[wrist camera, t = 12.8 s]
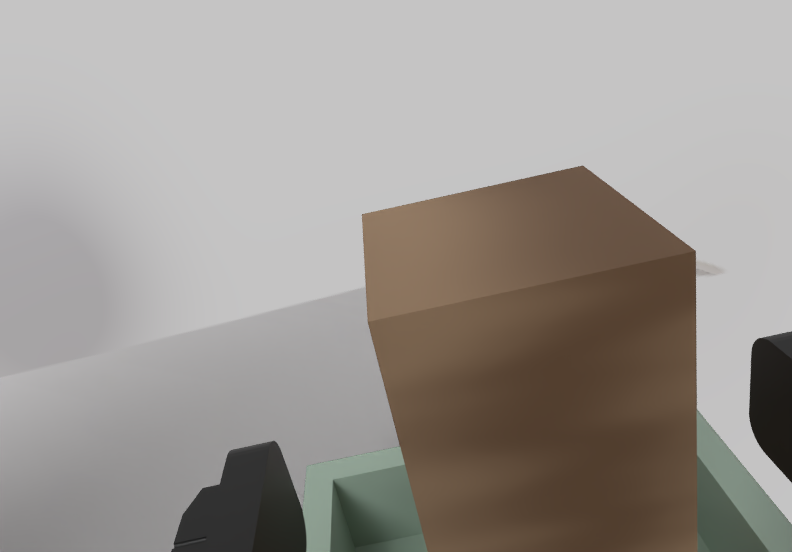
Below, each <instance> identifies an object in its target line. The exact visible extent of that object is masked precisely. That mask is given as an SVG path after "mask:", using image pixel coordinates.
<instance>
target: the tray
mask: <svg viewBox="0 0 792 552" xmlns="http://www.w3.org/2000/svg"><path fill="white" fill-rule="evenodd" d="M303 516H304V521H305V527H306V538H307V549H306V552H428V551H427V548H426V544H425V540H424V536H423V532H422V528H421V524H420V521H419V517H418V513H417V509H416V505H415V501H414V498H413V494H412V490H411V486H410V482H409V478H408V474H407V471H406V467H405V463H404V459H403V455H402V451H401V448H400V446H399V447H394V448H389V449H385V450H380V451H375V452H370V453H366V454H361V455H356V456H351V457H347V458H342V459H337V460H332V461H328V462H323V463H318V464H313V465H309V466H307V469H306V480H305V491H304V501H303ZM697 542H698V552H792V524H791V523H790V522H789V521H788V519H787V518H786V517H785V516H784V515H783V513H782V512H781V511H780V510H779V509H778V507H777V506H776V505H775V504H774V502H773V501H772V500H771V499H770V498H769V496H768V495H767V494H766V493H765V491H764V490H763V489H762V488H761V487H760V485H759V484H758V483H757V482H756V481H755V479H754V478H753V477H752V476H751V474H750V473H749V472H748V471H747V470H746V468H745V467H744V466H743V465H742V464H741V463H740V461H739V460H738V459H737V457H736V456H735V455H734V454H733V453H732V451H731V450H730V449H729V448H728V447H727V445H726V444H725V443H724V442H723V440H722V439H721V438H720V437H719V436H718V434H717V433H716V432H715V431H714V430H713V429H712V427H711V426H710V425H709V423H708V422H707V421H706V420H705V419H704V418H703V416H702V415H701V414H700V413H699V411H698V410H697Z"/></svg>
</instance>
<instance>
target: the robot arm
mask: <svg viewBox="0 0 792 552" xmlns="http://www.w3.org/2000/svg"><path fill="white" fill-rule="evenodd" d="M750 382H751V383H750V408H749V417H750V423H751V427H752V430H753V433H754V436H755V438H756V440H757V442H758V443H759V445H760V447H761V448H762V450H763V451H764V452H765V453H766V455H767V456H768V457H769V458H770V459H771V460H772V461H773V462H774V464H775V465H776V466H777V467H778V468H779V469H780V470H781V471H782V472H783V474H785V476H786V477H787V478H788V479H789V480H790V481H791V482H792V332H787V333H782V334H778V335H773V336H769V337H764V338H759V339H757V340H756V341H755V342H754V344H753V347H752V355H751V380H750ZM306 549H307V538H306V527H305V521H304V516H303V512H302V508H301V505H300V502H299V500H298V497H297V494H296V491H295V488H294V486H293V483H292V480H291V477H290V475H289V472H288V469H287V466H286V464H285V461H284V458H283V455H282V452H281V450H280V448H279V446H278V444H277V443H276V442H275V441H272V442H267V443H262V444H258V445H253V446H248V447H244V448H239V449H234V450H231V451H230V452H229V453H228V455H227V459H226V462H225V466H224V470H223V474H222V478H221V482H220V485H216V486H211V487H206V488H202V490H201V491H200V492H199V494H198V495H197V496H196V498H195V499H194V501H193V502H192V503H191V505H190V506H189V507H188V509H187V510H186V511H185V513H184V514H183V516H182V519H181V522H180V525H179V528H178V532H177V535H176V538H175V541H174V549H172V551H171V552H306Z"/></svg>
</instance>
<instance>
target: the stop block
mask: <svg viewBox="0 0 792 552" xmlns="http://www.w3.org/2000/svg"><path fill="white" fill-rule="evenodd" d="M362 222H363V242H364V259H365V279H366V297H367V316H368V325H369V328H370V332H371V336H372V340H373V344H374V348H375V351H376V355H377V359H378V363H379V367H380V371H381V375H382V378H383V382H384V386H385V390H386V394H387V398H388V401H389V405H390V409H391V413H392V417H393V421H394V425H395V428H396V432H397V436H398V440H399V444H400V448H401V451H402V455H403V459H404V463H405V467H406V471H407V474H408V478H409V482H410V486H411V490H412V494H413V498H414V501H415V505H416V509H417V513H418V517H419V521H420V524H421V528H422V532H423V536H424V540H425V544H426V548H427V551H428V552H698V542H697V392H696V391H697V387H696V386H697V385H696V251H695V250H694V249H692V248H691V247H690V246H688V245H687V244H685V243H684V242H683V241H682V240H680V239H679V238H678V237H676V236H675V235H674V234H673V233H671V232H670V231H669V230H667V229H666V228H665V227H663V226H662V225H661V224H659V223H658V222H657V221H655V220H654V219H653V218H651V217H650V216H649V215H647V214H646V213H644V211H642V210H641V209H639V208H638V207H637V206H635V205H634V204H633V203H632V202H630V201H629V200H628V199H626V198H625V197H624V196H622V195H621V194H620V193H618V192H617V191H616V190H614V189H613V188H612V187H611V186H609V185H608V184H607V183H605V182H604V181H602V180H601V179H600V178H599V177H597V176H596V175H595V174H593V173H592V172H591V171H589V170H588V169H587V168H585V167H584V166H580V167H575V168H570V169H565V170H561V171H556V172H552V173H547V174H543V175H538V176H534V177H530V178H525V179H520V180H516V181H511V182H507V183H502V184H498V185H493V186H488V187H484V188H479V189H475V190H470V191H466V192H462V193H457V194H453V195H448V196H443V197H439V198H434V199H430V200H425V201H421V202H416V203H412V204H407V205H402V206H398V207H394V208H389V209H385V210H380V211H376V212H371V213H366V214H362Z"/></svg>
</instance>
